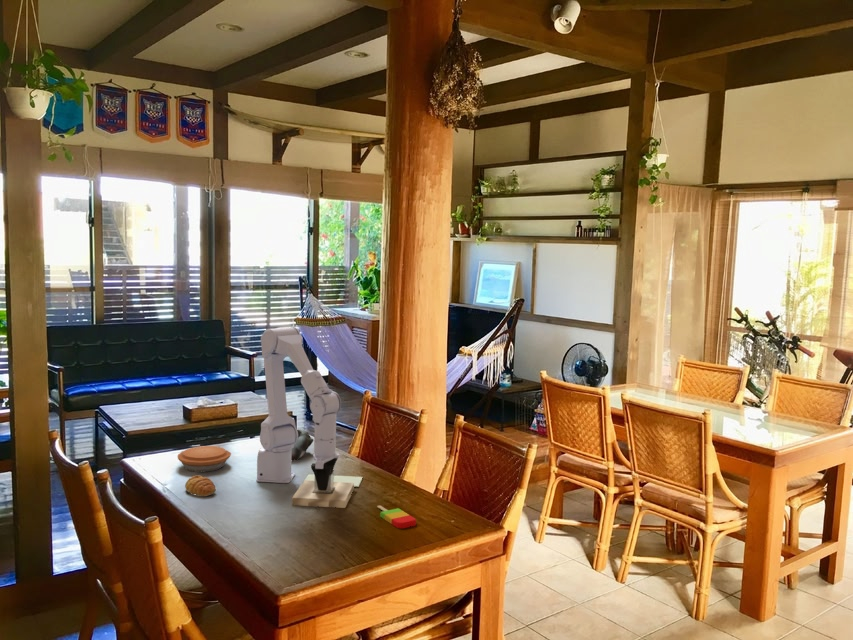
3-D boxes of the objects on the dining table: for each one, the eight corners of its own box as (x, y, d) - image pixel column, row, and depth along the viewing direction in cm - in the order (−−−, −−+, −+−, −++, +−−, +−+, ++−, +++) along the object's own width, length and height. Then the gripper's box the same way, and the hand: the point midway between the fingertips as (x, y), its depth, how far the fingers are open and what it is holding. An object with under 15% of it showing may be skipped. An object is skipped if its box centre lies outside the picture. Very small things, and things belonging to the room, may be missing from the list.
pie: (201, 477, 205) (201, 461, 205) (166, 467, 214) (166, 451, 213) (241, 465, 218) (241, 449, 218) (207, 455, 227) (207, 440, 226)
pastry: (222, 494, 193) (222, 480, 193) (199, 500, 188) (199, 486, 188) (204, 485, 200) (204, 472, 199) (182, 491, 195) (181, 477, 194)
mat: (302, 484, 202) (302, 483, 202) (308, 475, 210) (308, 474, 210) (358, 487, 201) (358, 486, 201) (362, 478, 209) (362, 476, 209)
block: (314, 499, 191) (314, 474, 190) (317, 494, 195) (318, 469, 194) (330, 500, 191) (330, 475, 190) (333, 494, 195) (334, 470, 194)
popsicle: (399, 531, 173) (399, 523, 173) (369, 511, 185) (369, 504, 185) (418, 526, 176) (418, 519, 176) (387, 507, 188) (387, 500, 188)
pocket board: (292, 505, 186) (292, 497, 186) (304, 487, 200) (304, 480, 200) (345, 508, 185) (345, 500, 185) (353, 489, 199) (353, 482, 199)
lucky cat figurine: (296, 463, 221) (275, 425, 219) (269, 471, 227) (247, 435, 224) (320, 438, 234) (300, 402, 231) (294, 447, 240) (273, 412, 237)
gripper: (334, 445, 184) (333, 496, 185) (344, 431, 198) (343, 478, 199) (307, 444, 184) (306, 495, 185) (319, 430, 199) (318, 477, 200)
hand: (324, 486), depth 193 cm, fingers closed on block, 4 cm apart
